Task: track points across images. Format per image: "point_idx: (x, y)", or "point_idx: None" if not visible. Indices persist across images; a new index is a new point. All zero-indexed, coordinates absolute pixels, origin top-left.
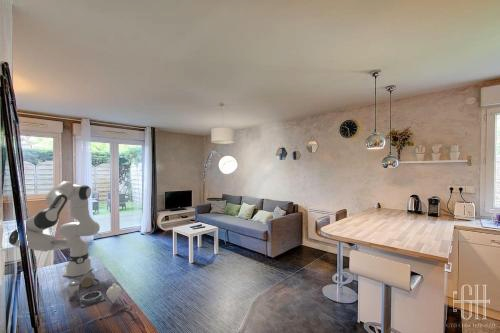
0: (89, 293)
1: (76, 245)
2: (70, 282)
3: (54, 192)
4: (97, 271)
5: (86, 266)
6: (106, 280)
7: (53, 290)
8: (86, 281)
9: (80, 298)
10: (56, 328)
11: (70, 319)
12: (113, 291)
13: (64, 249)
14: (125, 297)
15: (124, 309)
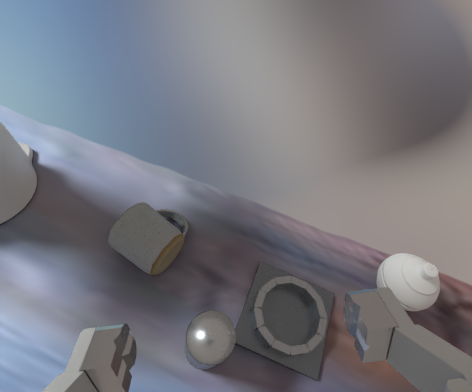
0: (261, 305)
1: (390, 291)
2: (193, 348)
3: None
4: (73, 157)
5: (16, 161)
6: (187, 194)
7: (26, 353)
8: (168, 255)
9: (243, 338)
10: None
11: None
12: (438, 293)
13: (133, 359)
14: (369, 249)
15: (442, 302)
